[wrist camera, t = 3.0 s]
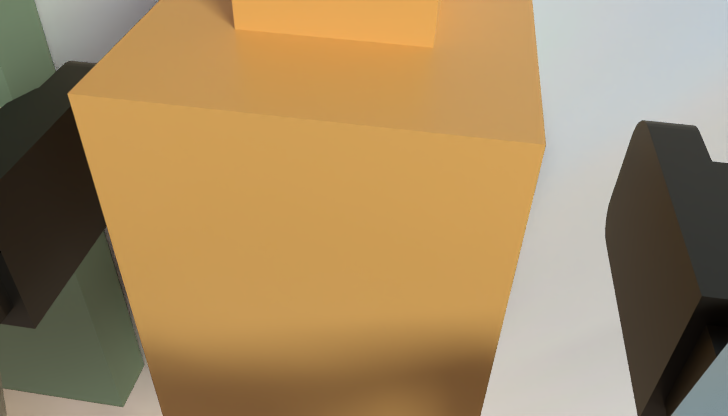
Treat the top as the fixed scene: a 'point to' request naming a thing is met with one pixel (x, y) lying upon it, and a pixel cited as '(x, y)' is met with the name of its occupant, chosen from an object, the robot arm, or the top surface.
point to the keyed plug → (318, 198)
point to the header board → (84, 289)
